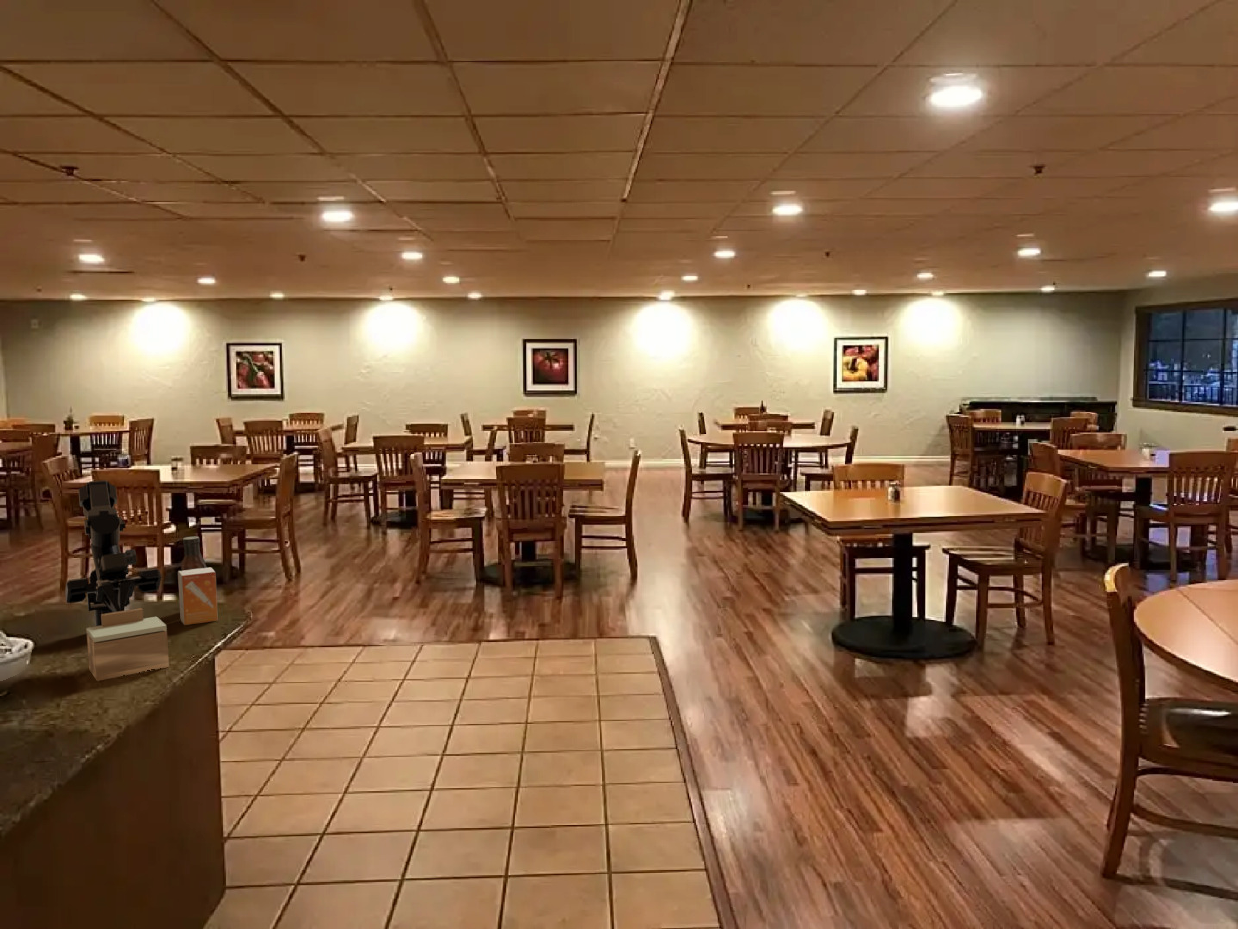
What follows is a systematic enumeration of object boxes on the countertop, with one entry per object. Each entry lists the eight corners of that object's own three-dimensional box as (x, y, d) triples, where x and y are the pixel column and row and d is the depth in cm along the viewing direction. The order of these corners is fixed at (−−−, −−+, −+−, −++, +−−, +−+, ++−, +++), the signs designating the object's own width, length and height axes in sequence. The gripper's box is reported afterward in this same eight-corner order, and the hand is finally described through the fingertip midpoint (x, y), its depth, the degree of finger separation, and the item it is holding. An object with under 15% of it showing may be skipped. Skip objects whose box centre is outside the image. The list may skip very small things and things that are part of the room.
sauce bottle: (215, 608, 252) (211, 536, 250) (198, 615, 246) (193, 540, 244) (196, 606, 254) (191, 534, 252) (178, 612, 248) (173, 539, 246)
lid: (86, 632, 203) (85, 616, 202) (156, 620, 211) (155, 605, 211) (94, 642, 196) (92, 626, 195) (166, 630, 204) (165, 614, 204)
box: (89, 669, 204) (86, 634, 203) (159, 656, 212) (157, 622, 211) (97, 680, 197) (94, 643, 196) (169, 666, 205) (166, 631, 204)
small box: (184, 626, 236) (181, 575, 235) (180, 620, 241) (177, 570, 240) (218, 620, 241) (215, 571, 239) (213, 615, 246) (211, 566, 244)
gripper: (63, 544, 204) (75, 604, 196) (156, 533, 215) (171, 590, 208) (60, 573, 211) (72, 632, 203) (151, 561, 222) (165, 617, 215)
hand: (121, 617), depth 207 cm, fingers closed, pressing on lid
